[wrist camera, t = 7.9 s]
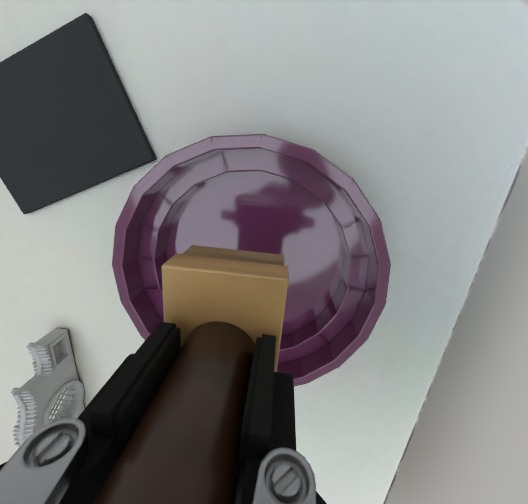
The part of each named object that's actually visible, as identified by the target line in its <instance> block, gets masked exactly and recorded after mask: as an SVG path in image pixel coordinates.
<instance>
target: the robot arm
mask: <svg viewBox="0 0 528 504" xmlns="http://www.w3.org/2000/svg"><path fill="white" fill-rule="evenodd" d="M275 346H276V335H267V334H262V338H260V337H257V338H256V344H255V350H254V356H253V362H252V368H251V374H250V380H249V386H248V392H247V398H246V404H245V410H244V416H243V422H242V429H241V437H240V449H239V461H238V465H239V481H238V488H237V495H236V502H235V504H326V502H325V501H324V500H323V499H322V498H321V496H320V495H319V494H318V493H317V492H316V483H315V477H314V473H313V470H312V468H311V466H310V464H309V463H308V461H307V460H306V459H305V457H304V456H302V455H301V454H300V453H298V452H297V451H296V433H295V407H294V381H293V374H288V373H280V372H274V365H275ZM180 349H181V331H180V328H178V327H176V324H175V323H169V322H160V323H159V324H158V325H157V326H156V328H155V329H154V330H153V331H152V333H151V334H150V335H149V337H148V338H147V339H146V340H145V342H144V343H143V344H142V345H141V347H140V348H139V349H138V350H137V352H136V353H135V354H131V355H129V356H128V357H127V358H126V359H125V360H124V362H123V363H122V364H121V365H120V366H119V368H118V369H117V370H116V371H115V373H114V374H113V375H112V376H111V377H110V379H109V380H108V381H107V382H106V384H105V385H104V386H103V387H102V388H101V390H100V391H99V392H98V393H97V395H96V396H95V397H94V398H93V399H92V401H91V402H90V403H89V404H88V406H87V407H86V408H85V409H84V410H83V412H82V413H81V414H80V415H79V417H78V418H77V419H76V418H62V419H59V420H56V421H52V422H50V423H48V424H46V425H44V426H43V427H41V428H40V429H38V430H37V431H35V432H34V433H33V434H32V435H31V436H30V437H29V438H28V439H27V440H26V441H25V442H24V443H23V444H22V445H21V446H20V447H19V449H18V450H17V451H16V452H15V453H14V455H13V456H12V457H11V458H10V459H9V461H8V462H5V463H3V464H1V465H0V504H93V503H94V501H95V500H96V498H97V496H98V494H99V493H100V491H101V489H102V487H103V485H104V484H105V482H106V480H107V478H108V477H109V475H110V473H111V471H112V470H113V468H114V466H115V464H116V462H117V461H118V459H119V457H120V455H121V454H122V452H123V450H124V448H125V446H126V445H127V443H128V441H129V439H130V438H131V436H132V434H133V432H134V431H135V429H136V427H137V425H138V423H139V422H140V420H141V418H142V416H143V415H144V413H145V411H146V409H147V408H148V406H149V404H150V402H151V400H152V399H153V397H154V395H155V393H156V392H157V390H158V388H159V386H160V385H161V383H162V381H163V379H164V377H165V376H166V374H167V372H168V370H169V369H170V367H171V365H172V363H173V362H174V360H175V358H176V356H177V354H178V353H179V351H180Z"/></svg>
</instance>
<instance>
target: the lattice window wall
mask: <svg viewBox="0 0 528 504" xmlns="http://www.w3.org/2000/svg"><path fill="white" fill-rule="evenodd" d="M27 348H29V349H28V350H29V351H31V352H30V354H32V355H31V356H32V357H34V358H33V359H32V360H34V362H33V363H32V364H33V365H35V366H34V368H36V369H34V371H36V372H35V374H34V375H35V376H34V377H33V378H31V379H30V380H29V381H28V382H27V383H25V384H24V385H23V386H22V387H21V388H14V389H13V391H11V393H12V394H13V396H14V399H15V400H16V402H17V404H18V406H19V407H18V408H17V409H19V411H18V412H17V413H18V414H19V416H17V418H18V419H19V420H18V421H17V422H16V423H18V424H17V426H16V425H15V426H14V428H15V429H16V430H14V431H13V432H15V434H14V435H13V436H14V437H16V438H15V439H14V441H17V442H16V443H15V445H17V446H19V447H20V446H21V445H22V444H23V443H24V442H25V441H26V440H27V439H28V438H29V437H30V436H31V435H32V434H33V433H34V432H35V431H37V430H38V429H40V428H41V427H43V426H44V425H46V424H48V423H50V422H52V421H56V420H59V419H62V418H76V419H77V418H78V417H79V415H80V414H81V413H82V412H83V410H84V409H85V408H84V404H83V397H84V387H83V384H82V383H81V382H80V381H78V376H77V372H76V367H75V362H74V358H73V353H72V349H71V344H70V340H69V335H68V330H67V329H59V328H56V329H54V330H53V331H51V332H50V333H48V334H47V335H45V336H44V337H42V338H41V339H40V340H38V341H37V342H35V343H29V344H28V346H27ZM64 389H65V391H64V393H62V392H63V390H64ZM66 390H67V394H65V392H66ZM61 394H63V395H62V397H61V399H59V398H60V396H61ZM64 395H66V396H65V398H64V399H62V398H63V396H64ZM57 397H58V398H57ZM55 400H56V402H55ZM58 400H60V401H59V403H58V404H57V402H58ZM61 400H63V402H62V404H60V402H61ZM64 401H65V402H64ZM54 402H55V404H54ZM63 403H64V404H63ZM53 405H54V406H53ZM55 405H57V406H56V408H55V409H54V407H55ZM52 406H53V408H52ZM58 406H60V408H59V410H58V409H57V408H58ZM62 406H63V407H62ZM61 407H62V408H61ZM51 408H52V409H51ZM60 409H61V410H60ZM53 410H54V412H53V414H51V413H52V411H53ZM50 411H51V412H50ZM56 411H57V413H56V414H55V412H56ZM59 411H60V412H59ZM50 415H52V416H51V418H50V419H49V417H50ZM54 415H55V417H54V419H52V418H53V416H54ZM48 420H49V422H48Z"/></svg>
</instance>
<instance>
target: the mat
mask: <svg viewBox="0 0 528 504" xmlns="http://www.w3.org/2000/svg"><path fill="white" fill-rule="evenodd" d="M154 160H156V157H155V155H154V153H153V151H152V148H151V146H150V144H149V142H148V140H147V138H146V135H145V133H144V131H143V129H142V127H141V124H140V122H139V120H138V118H137V116H136V114H135V111H134V109H133V107H132V105H131V103H130V100H129V98H128V96H127V94H126V92H125V89H124V87H123V85H122V83H121V81H120V79H119V76H118V74H117V72H116V70H115V68H114V65H113V63H112V61H111V59H110V57H109V55H108V52H107V50H106V48H105V46H104V44H103V41H102V39H101V37H100V35H99V33H98V30H97V28H96V26H95V24H94V22H93V20H92V17H91V16H89V15H88V14H87V13H85V14H83V15H81V16H79V17H78V18H76V19H74V20H73V21H71V22H69V23H67V24H66V25H64V26H62V27H61V28H59V29H57V30H55V31H54V32H52V33H50V34H48V35H47V36H45V37H43V38H42V39H40V40H38V41H36V42H35V43H33V44H31V45H29V46H28V47H26V48H24V49H23V50H21V51H19V52H17V53H16V54H14V55H12V56H10V57H9V58H7V59H5V60H4V61H2V62H0V178H1V179H2V181H3V182H4V184H5V185H6V187H7V189H8V190H9V192H10V193H11V195H12V196H13V198H14V200H15V201H16V203H17V204H18V206H19V207H20V209H21V211H22V212H23V214H28V213H31V212H34V211H36V210H38V209H41V208H43V207H45V206H48V205H50V204H52V203H55V202H57V201H59V200H62V199H64V198H67V197H69V196H71V195H74V194H76V193H78V192H81V191H83V190H85V189H88V188H90V187H92V186H95V185H97V184H99V183H102V182H104V181H107V180H109V179H111V178H114V177H116V176H118V175H121V174H123V173H125V172H128V171H130V170H132V169H135V168H137V167H140V166H142V165H144V164H147V163H149V162H151V161H154Z"/></svg>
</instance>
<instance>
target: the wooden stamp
mask: <svg viewBox="0 0 528 504" xmlns="http://www.w3.org/2000/svg"><path fill="white" fill-rule="evenodd" d="M288 281H289V279H288V266H284V255H280V254H271V253H262V252H252V251H243V250H234V249H224V248H215V247H206V246H196V245H192V246H190V247H189V248H188V249H187V250H186V251H185V252H183V253H182V254H175V255H174V256H173V257H171V258H170V259H169V260H168V261H166V262H165V263H164V264H163V265H162V287H163V309H164V322H169V323H175V324H176V327H178V328H180V331H181V349H180V351H179V353H178V354H177V356H176V358H175V360H174V362H173V363H172V365H171V367H170V369H169V370H168V372H167V374H166V376H165V377H164V379H163V381H162V383H161V385H160V386H159V388H158V390H157V392H156V393H155V395H154V397H153V399H152V400H151V402H150V404H149V406H148V408H147V409H146V411H145V413H144V415H143V416H142V418H141V420H140V422H139V423H138V425H137V427H136V429H135V431H134V432H133V434H132V436H131V438H130V439H129V441H128V443H127V445H126V446H125V448H124V450H123V452H122V454H121V455H120V457H119V459H118V461H117V462H116V464H115V466H114V468H113V470H112V471H111V473H110V475H109V477H108V478H107V480H106V482H105V484H104V485H103V487H102V489H101V491H100V493H99V494H98V496H97V498H96V500H95V501H94V503H93V504H235V502H236V495H237V488H238V481H239V465H238V461H239V449H240V437H241V429H242V422H243V416H244V410H245V404H246V398H247V392H248V386H249V380H250V374H251V368H252V362H253V356H254V350H255V344H256V338H257V337H260V338H262V334H267V335H276V346H275V365H274V372H277V366H278V358H279V350H280V343H281V335H282V327H283V319H284V312H285V304H286V296H287V289H288Z"/></svg>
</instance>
